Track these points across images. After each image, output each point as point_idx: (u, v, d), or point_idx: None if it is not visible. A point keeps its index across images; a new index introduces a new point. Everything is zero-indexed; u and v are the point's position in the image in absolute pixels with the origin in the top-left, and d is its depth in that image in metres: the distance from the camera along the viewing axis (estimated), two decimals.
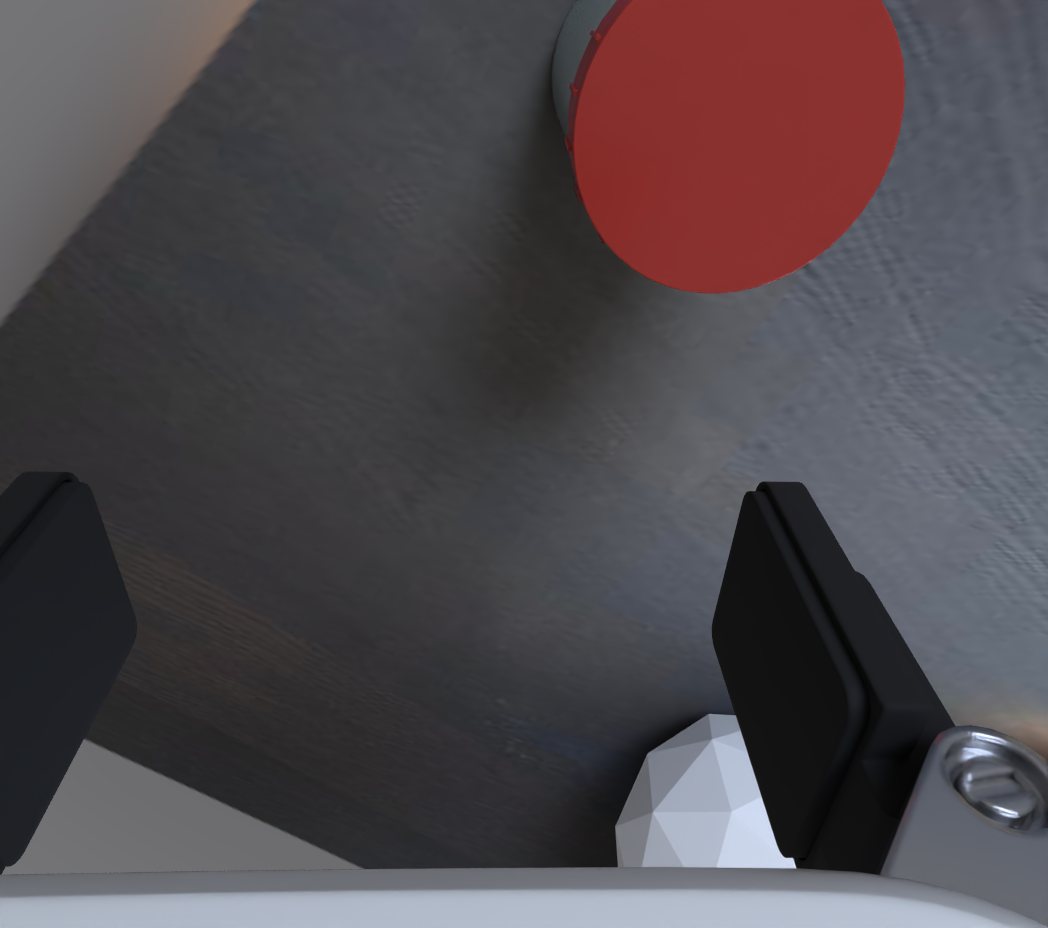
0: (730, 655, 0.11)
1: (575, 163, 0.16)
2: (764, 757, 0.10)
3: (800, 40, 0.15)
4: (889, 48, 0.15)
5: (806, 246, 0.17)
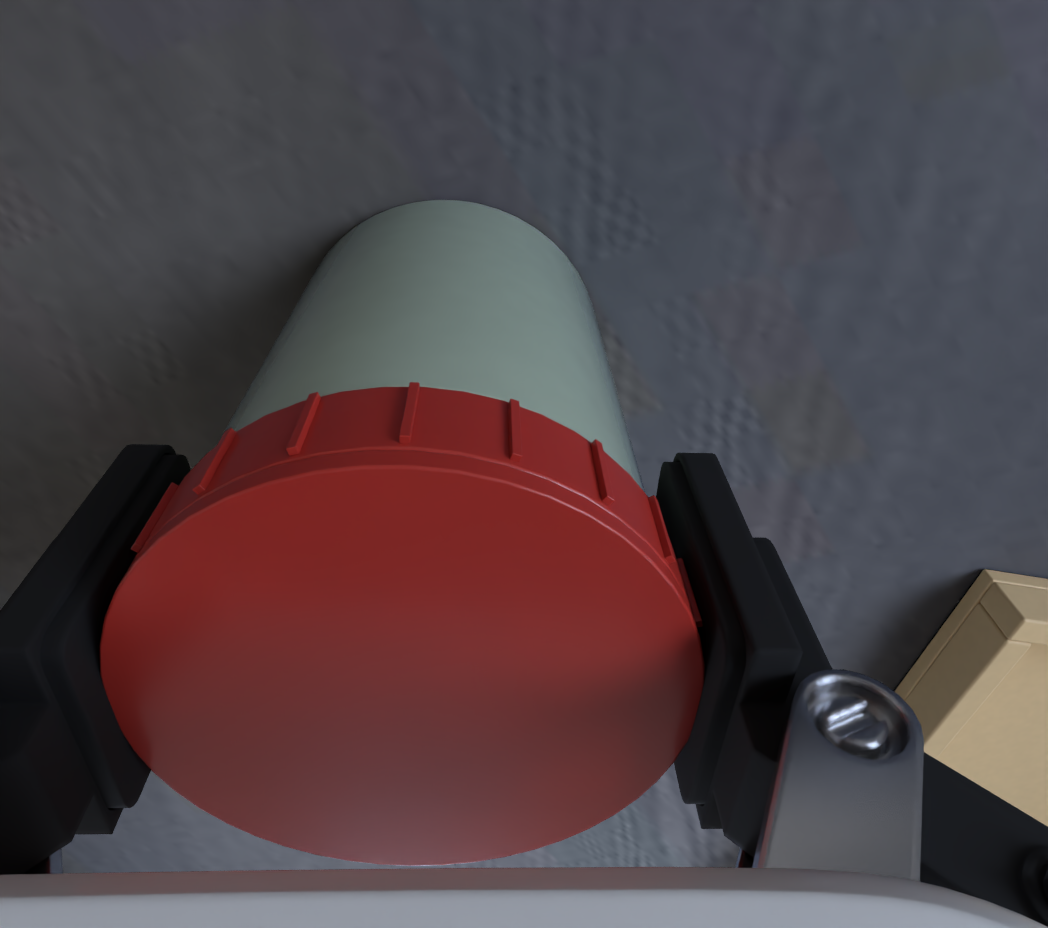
0: None
1: (120, 588, 0.08)
2: None
3: (577, 671, 0.09)
4: (670, 744, 0.09)
5: (413, 852, 0.11)
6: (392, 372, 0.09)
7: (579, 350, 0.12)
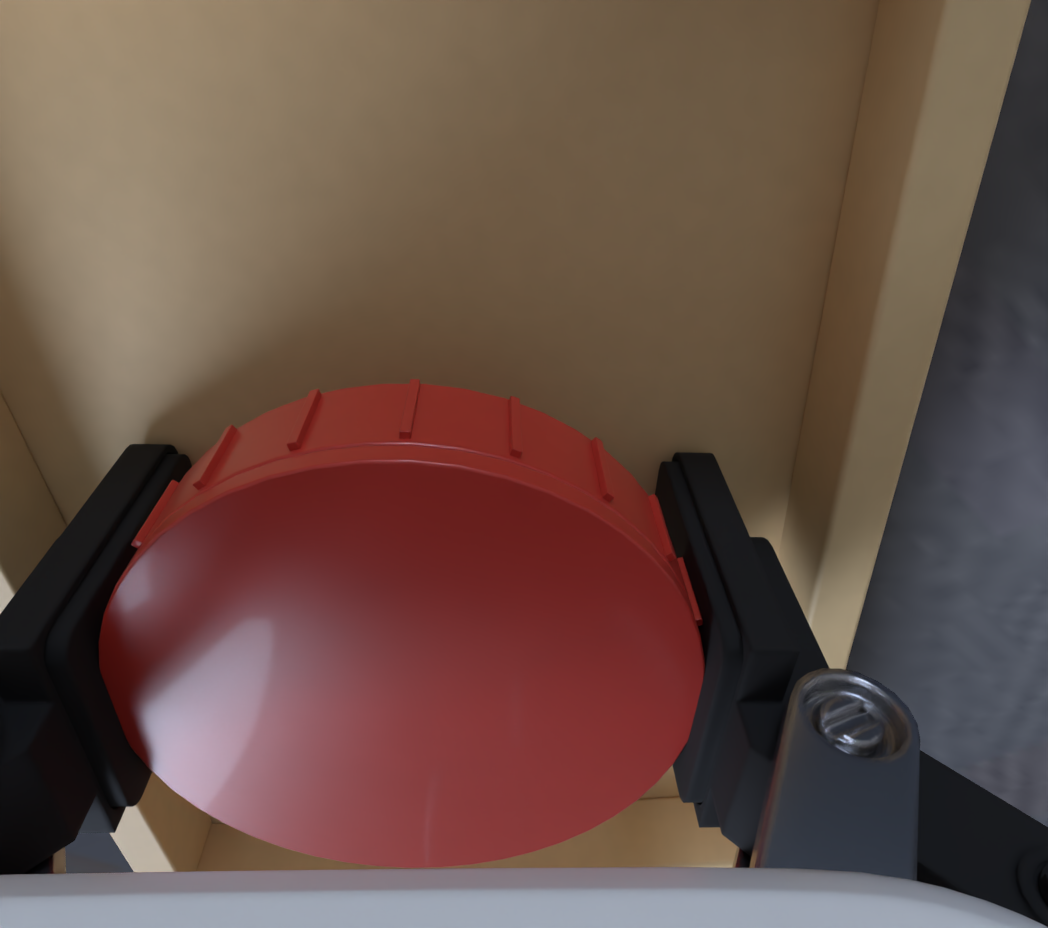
0: None
1: (119, 584, 0.08)
2: None
3: (577, 670, 0.09)
4: (670, 744, 0.09)
5: (412, 854, 0.10)
6: None
7: None
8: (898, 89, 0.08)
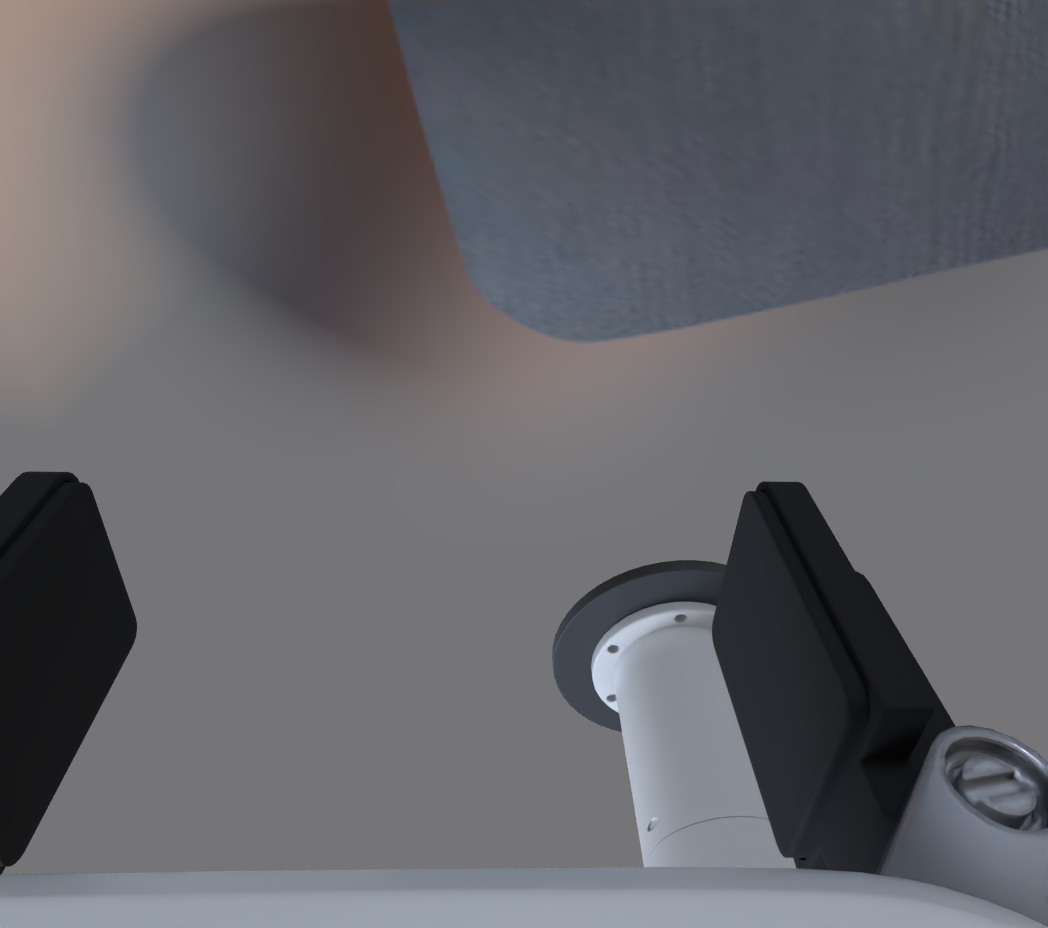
0: (730, 655, 0.11)
1: None
2: (764, 757, 0.10)
3: None
4: None
5: None
6: None
7: None
8: None
